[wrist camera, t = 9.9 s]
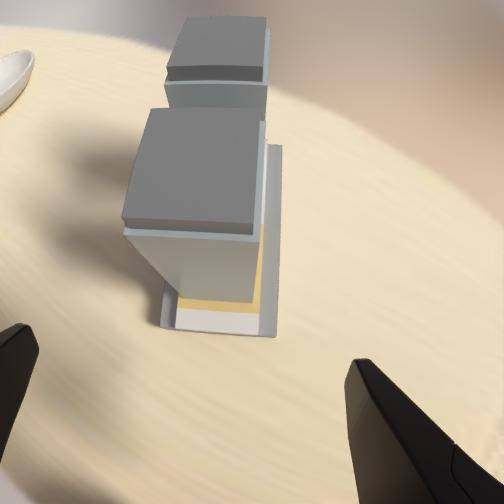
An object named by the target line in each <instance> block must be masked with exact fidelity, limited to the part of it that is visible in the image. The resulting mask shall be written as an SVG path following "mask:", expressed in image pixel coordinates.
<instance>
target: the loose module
mask: <svg viewBox="0 0 504 504" xmlns="http://www.w3.org/2000/svg"><path fill="white" fill-rule="evenodd" d="M260 112H261V109H246V108H212V107H188V108H154V109H151V111H150V114H149V117H148V120H147V123H146V126H145V129H144V133H143V136H142V139H141V143H140V146H139V149H138V153H137V156H136V160H135V164H134V167H133V171H132V175H131V179H130V182H129V186H128V190H127V195H126V199H125V203H124V207H123V212H122V216H121V218H122V219H123V220H124V222H125V227H124V232H123V235H124V236H125V237H126V239H127V240H128V241H129V242H130V243H131V244H132V245H133V246H134V247H135V248H136V249H137V250H138V251H139V253H140V254H141V255H142V256H143V257H144V258H145V259H146V260H147V261H148V262H149V263H150V264H151V265H152V266H153V267H154V268H155V269H156V270H157V271H158V272H159V273H160V274H161V275H162V277H163V278H164V279H165V280H166V281H167V282H168V283H169V284H170V285H171V286H172V287H173V288H174V289H175V290H176V291H177V292H178V293H179V294H180V295H181V296H182V297H183V298H184V299H196V300H208V301H222V302H237V303H253V296H254V288H255V279H256V271H257V262H258V254H259V245H260V230H261V211H262V191H263V171H264V150H265V129H266V121H260Z"/></svg>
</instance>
